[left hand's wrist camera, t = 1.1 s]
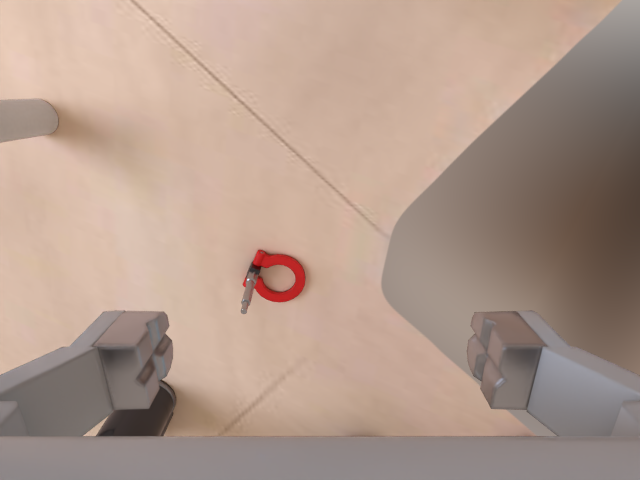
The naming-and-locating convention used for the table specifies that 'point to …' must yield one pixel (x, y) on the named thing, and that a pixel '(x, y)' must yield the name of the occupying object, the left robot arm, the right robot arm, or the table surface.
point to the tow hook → (257, 282)
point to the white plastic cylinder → (26, 119)
